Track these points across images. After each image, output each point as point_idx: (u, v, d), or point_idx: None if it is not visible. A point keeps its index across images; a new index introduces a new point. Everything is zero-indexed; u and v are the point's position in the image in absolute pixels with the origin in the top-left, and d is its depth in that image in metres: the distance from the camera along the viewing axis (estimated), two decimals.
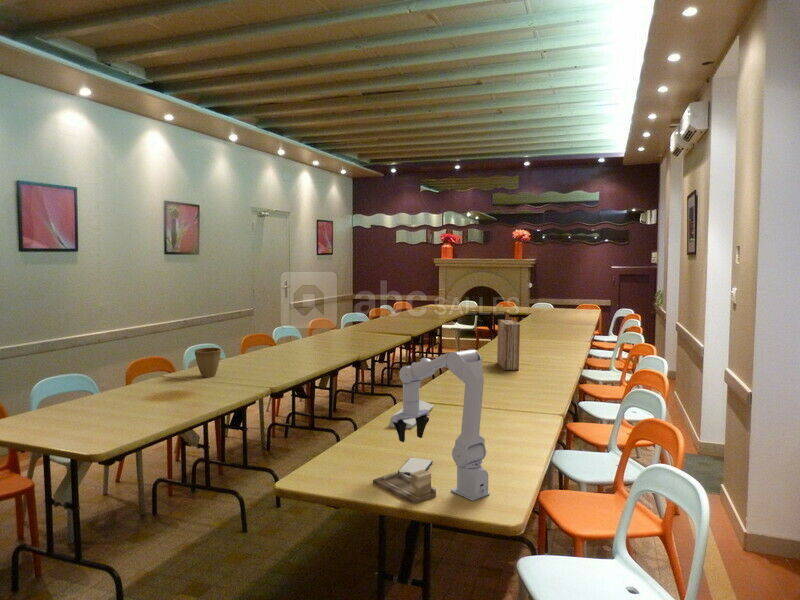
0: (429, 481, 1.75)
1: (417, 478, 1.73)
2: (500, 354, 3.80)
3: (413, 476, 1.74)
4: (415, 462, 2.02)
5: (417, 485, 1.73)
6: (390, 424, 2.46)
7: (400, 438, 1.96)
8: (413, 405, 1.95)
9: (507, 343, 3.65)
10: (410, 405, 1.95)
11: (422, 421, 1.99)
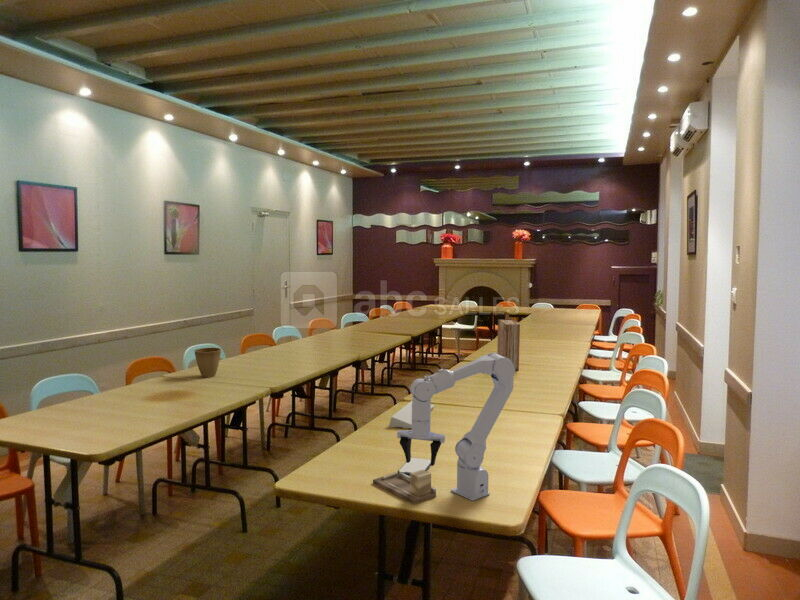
0: (429, 481, 1.75)
1: (417, 478, 1.73)
2: (500, 354, 3.80)
3: (413, 476, 1.74)
4: (415, 462, 2.02)
5: (417, 485, 1.73)
6: (390, 424, 2.46)
7: None
8: (415, 424, 1.72)
9: (507, 343, 3.65)
10: (413, 423, 1.73)
11: None
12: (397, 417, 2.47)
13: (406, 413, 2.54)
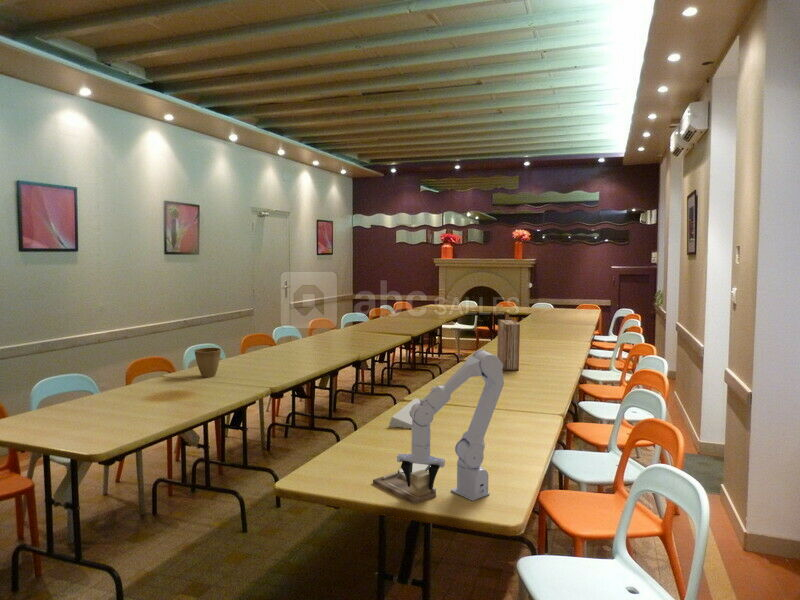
0: None
1: (417, 478, 1.73)
2: (500, 354, 3.80)
3: (413, 476, 1.74)
4: None
5: (417, 485, 1.73)
6: (391, 424, 2.46)
7: None
8: (415, 449, 1.73)
9: (507, 343, 3.65)
10: (413, 448, 1.73)
11: None
12: (397, 417, 2.47)
13: (406, 413, 2.54)
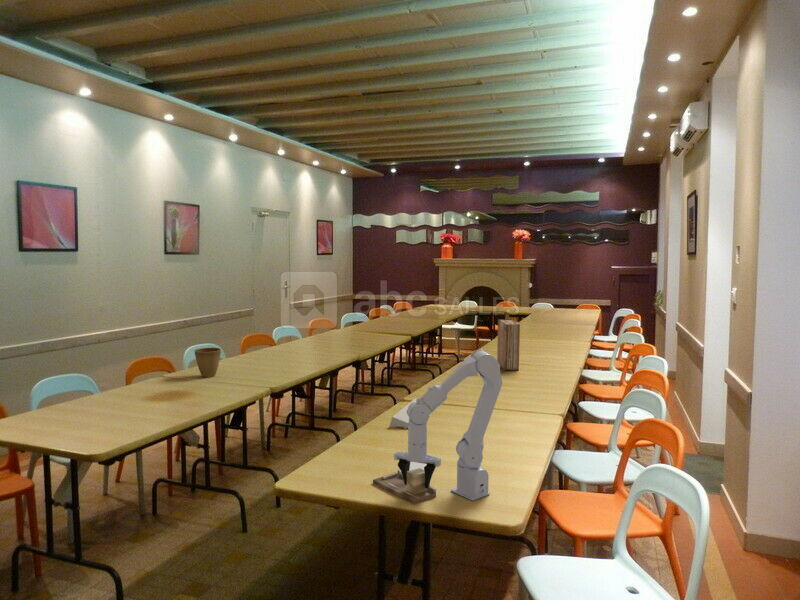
0: None
1: (413, 476, 1.74)
2: (500, 354, 3.80)
3: (409, 474, 1.76)
4: (415, 462, 2.02)
5: (413, 483, 1.74)
6: (391, 424, 2.46)
7: None
8: (411, 447, 1.74)
9: (507, 343, 3.65)
10: (409, 446, 1.75)
11: None
12: (398, 417, 2.47)
13: None
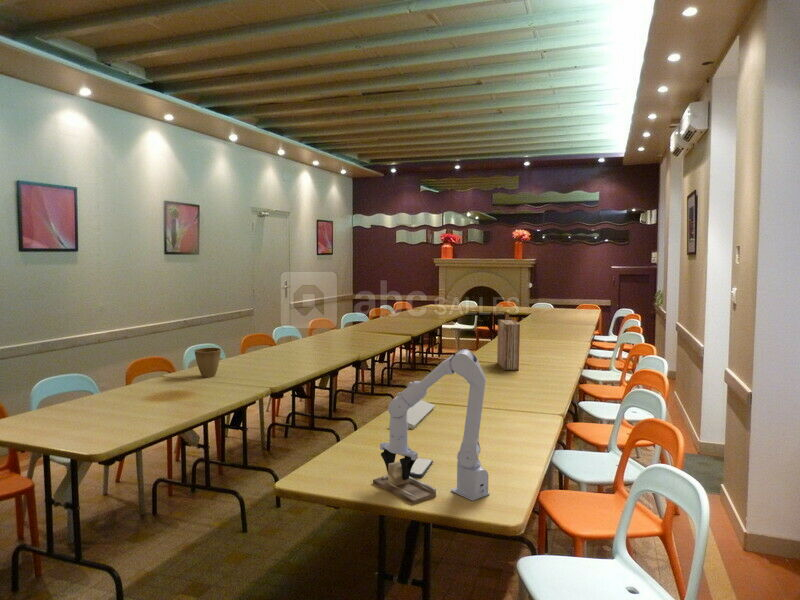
0: None
1: (394, 468, 1.80)
2: (500, 354, 3.80)
3: (391, 466, 1.82)
4: (415, 462, 2.02)
5: (394, 475, 1.80)
6: None
7: None
8: (390, 439, 1.82)
9: (507, 343, 3.65)
10: None
11: None
12: None
13: (407, 413, 2.54)
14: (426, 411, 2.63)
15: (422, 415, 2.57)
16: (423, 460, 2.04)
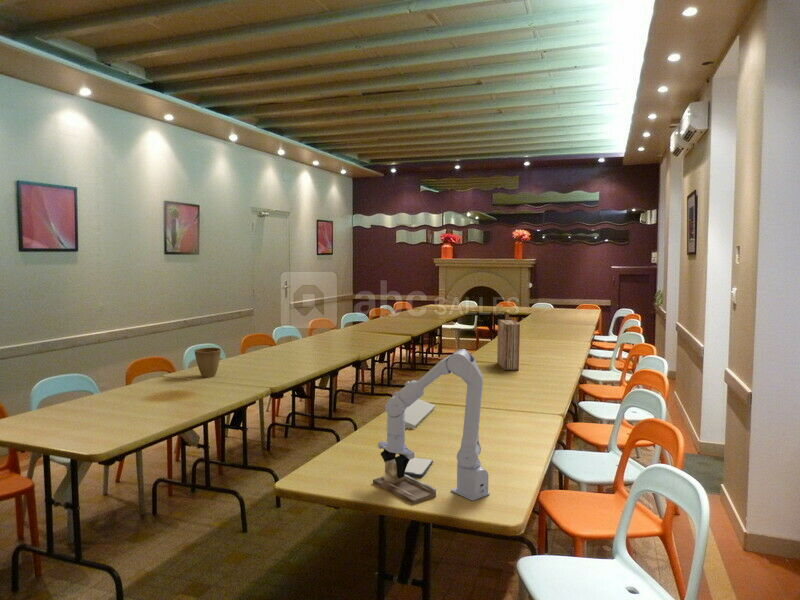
0: None
1: (392, 466, 1.82)
2: (500, 354, 3.80)
3: (388, 464, 1.83)
4: (415, 462, 2.02)
5: (392, 473, 1.82)
6: None
7: None
8: (387, 438, 1.83)
9: (507, 343, 3.65)
10: (387, 437, 1.84)
11: None
12: None
13: (408, 413, 2.54)
14: (426, 411, 2.63)
15: (422, 415, 2.57)
16: (423, 460, 2.04)
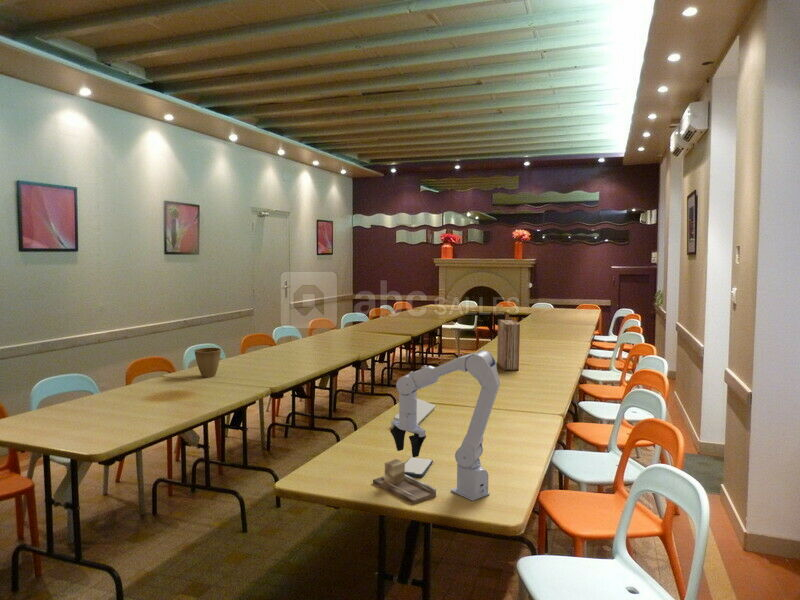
0: (403, 469, 1.84)
1: (392, 467, 1.82)
2: (500, 354, 3.80)
3: (388, 465, 1.83)
4: (415, 461, 2.02)
5: (392, 474, 1.82)
6: None
7: None
8: (399, 416, 1.85)
9: (507, 343, 3.65)
10: (399, 415, 1.86)
11: None
12: None
13: None
14: (427, 411, 2.63)
15: (423, 415, 2.57)
16: (423, 460, 2.04)
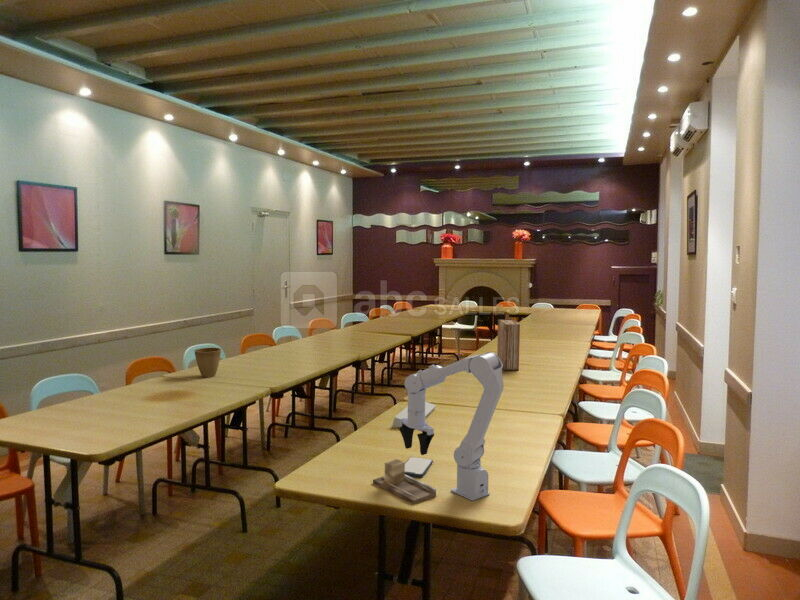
0: (403, 469, 1.84)
1: (392, 467, 1.82)
2: (500, 354, 3.80)
3: (388, 465, 1.83)
4: (415, 461, 2.02)
5: (392, 474, 1.82)
6: (393, 424, 2.46)
7: None
8: (408, 414, 1.87)
9: (507, 343, 3.65)
10: None
11: None
12: (400, 417, 2.46)
13: None
14: (427, 411, 2.63)
15: None
16: (423, 460, 2.04)
